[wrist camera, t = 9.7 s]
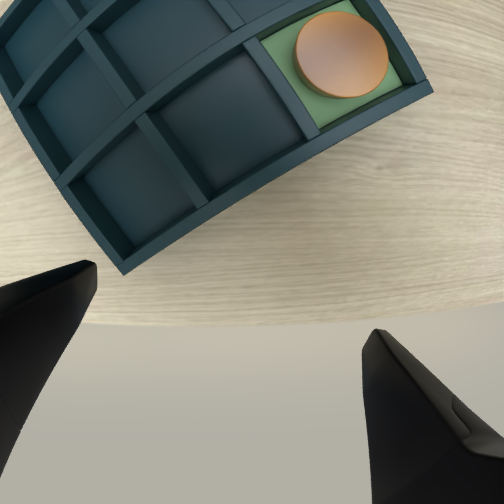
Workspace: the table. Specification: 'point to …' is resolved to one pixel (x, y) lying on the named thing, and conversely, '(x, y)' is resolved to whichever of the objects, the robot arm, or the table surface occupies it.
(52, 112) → the grid
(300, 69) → the cylinder
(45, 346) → the robot arm
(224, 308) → the table surface
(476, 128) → the table surface
